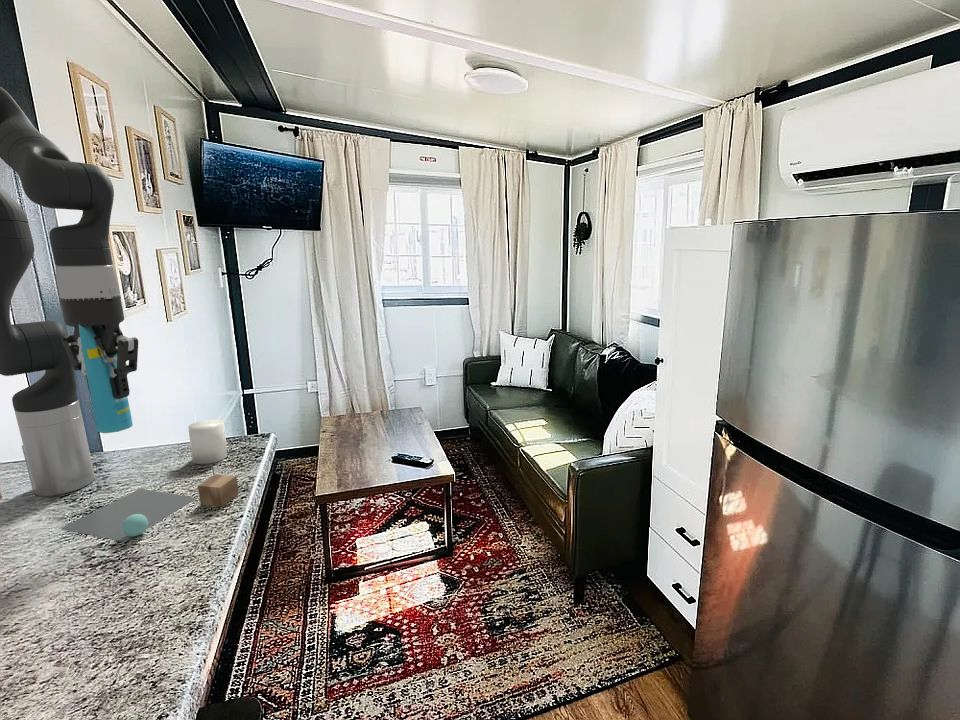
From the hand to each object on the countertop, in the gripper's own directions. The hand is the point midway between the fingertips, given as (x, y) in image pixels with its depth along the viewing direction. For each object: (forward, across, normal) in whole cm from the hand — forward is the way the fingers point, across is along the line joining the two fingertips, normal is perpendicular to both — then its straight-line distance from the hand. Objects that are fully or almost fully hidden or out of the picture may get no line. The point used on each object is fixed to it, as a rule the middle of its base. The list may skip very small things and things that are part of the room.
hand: (110, 395), depth 78 cm
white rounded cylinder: (+23, -6, +23) cm, 33 cm away
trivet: (+23, 0, 0) cm, 23 cm away
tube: (+6, 0, 0) cm, 6 cm away
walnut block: (+20, +9, +8) cm, 24 cm away
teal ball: (+22, +7, -5) cm, 24 cm away
